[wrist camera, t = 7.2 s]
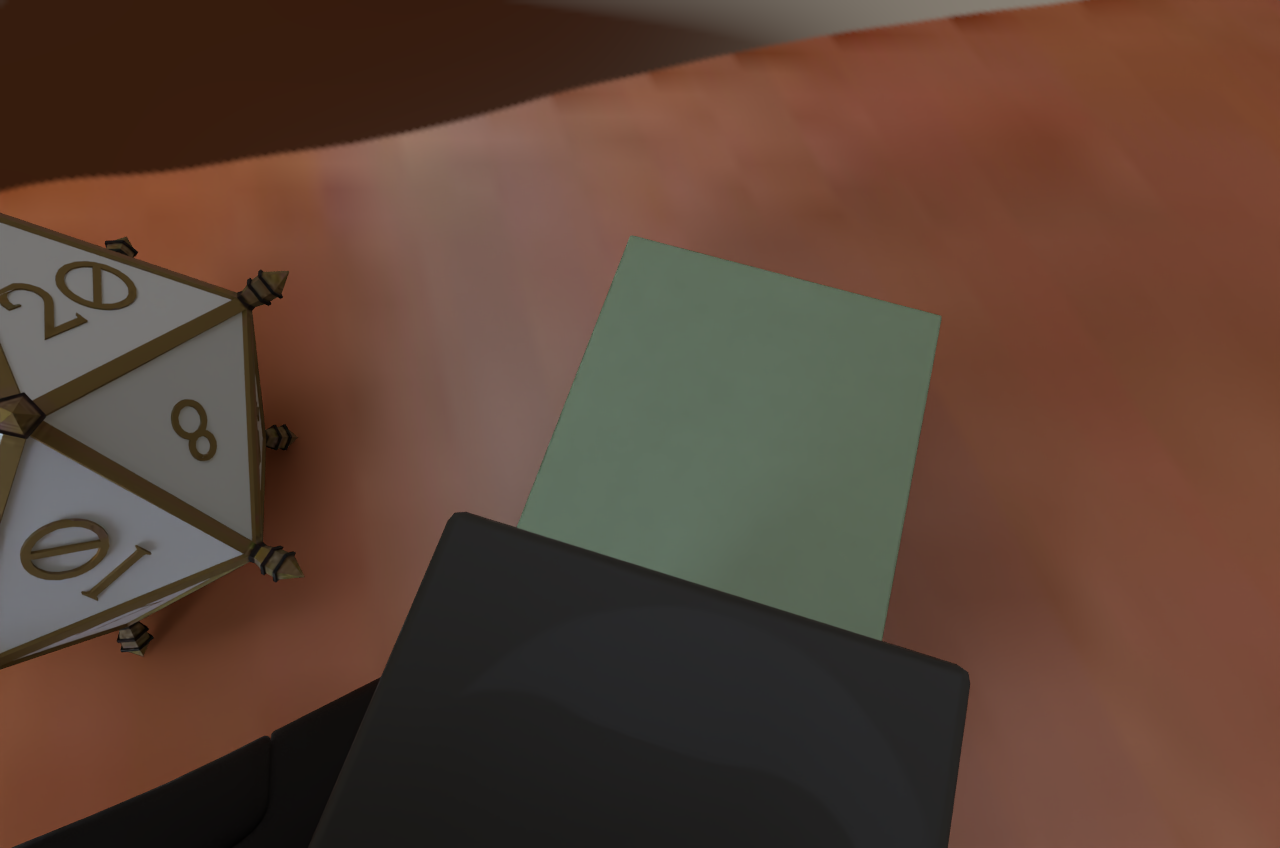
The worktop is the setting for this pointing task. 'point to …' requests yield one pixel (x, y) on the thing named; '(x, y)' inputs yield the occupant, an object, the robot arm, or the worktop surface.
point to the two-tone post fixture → (681, 598)
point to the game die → (123, 439)
